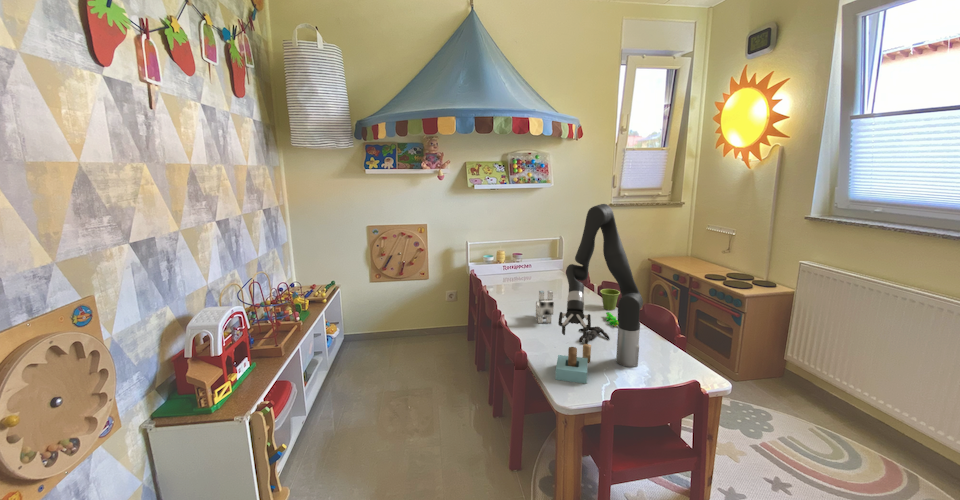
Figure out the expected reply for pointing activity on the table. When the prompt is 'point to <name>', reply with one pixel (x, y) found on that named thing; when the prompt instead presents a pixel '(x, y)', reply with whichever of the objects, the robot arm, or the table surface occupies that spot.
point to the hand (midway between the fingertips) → (573, 335)
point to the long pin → (572, 356)
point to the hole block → (571, 370)
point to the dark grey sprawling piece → (592, 334)
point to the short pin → (587, 352)
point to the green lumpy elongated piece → (611, 319)
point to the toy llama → (544, 307)
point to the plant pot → (609, 298)
